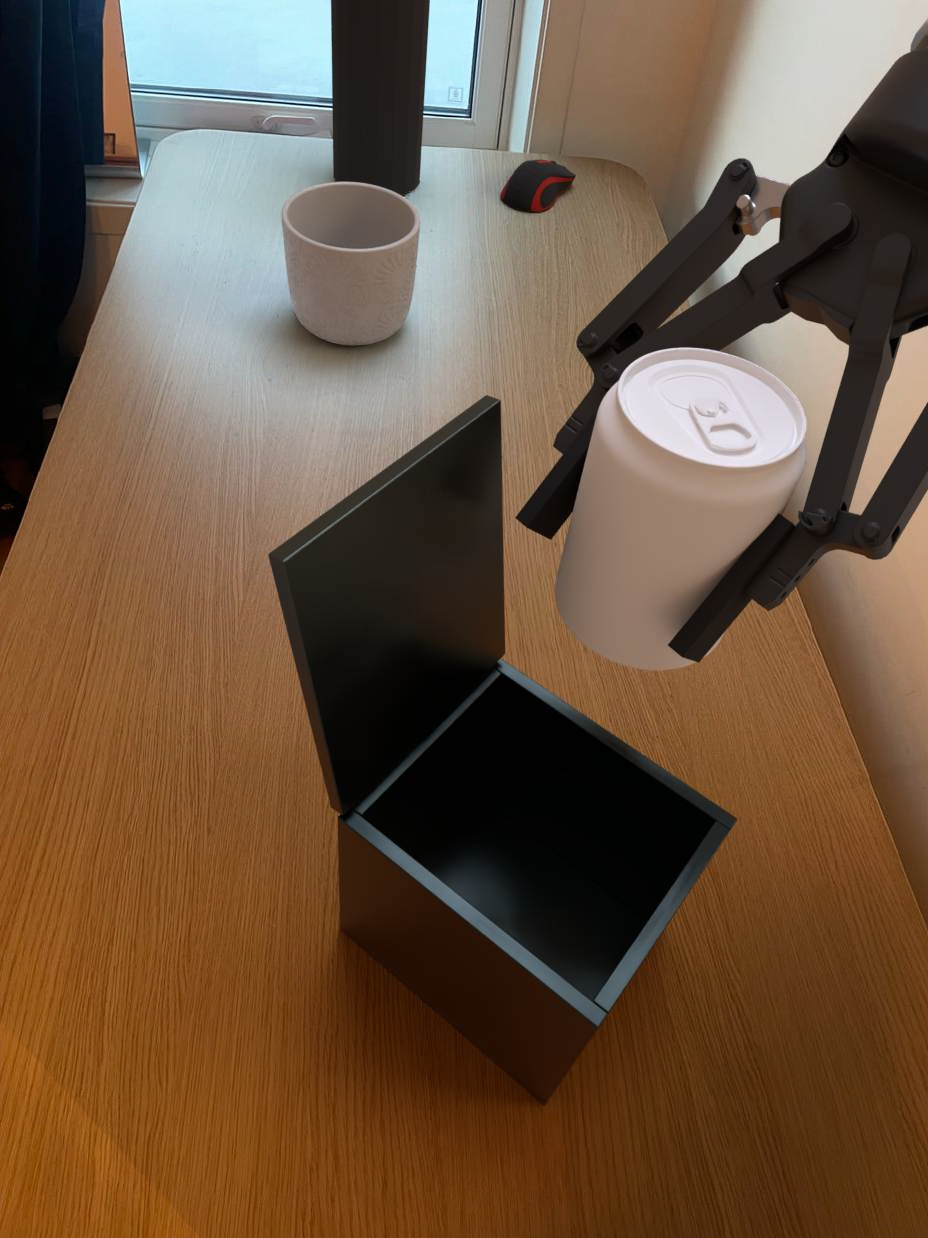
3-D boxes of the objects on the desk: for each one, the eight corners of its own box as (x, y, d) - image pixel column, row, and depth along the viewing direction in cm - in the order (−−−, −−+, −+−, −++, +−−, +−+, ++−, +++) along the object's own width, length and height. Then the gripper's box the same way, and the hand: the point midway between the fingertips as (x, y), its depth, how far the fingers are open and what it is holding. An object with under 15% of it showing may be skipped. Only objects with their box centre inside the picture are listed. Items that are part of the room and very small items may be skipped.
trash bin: (664, 926, 56) (738, 818, 45) (544, 1106, 49) (598, 1029, 38) (472, 783, 61) (498, 656, 50) (339, 929, 54) (336, 817, 43)
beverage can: (676, 536, 48) (754, 330, 38) (753, 660, 43) (862, 459, 34) (527, 562, 45) (572, 350, 36) (590, 695, 41) (660, 491, 32)
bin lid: (501, 399, 39) (486, 393, 39) (282, 562, 32) (266, 553, 32) (506, 654, 50) (493, 647, 50) (342, 816, 43) (330, 808, 43)
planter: (278, 290, 94) (271, 183, 86) (397, 282, 97) (402, 177, 89) (299, 364, 87) (293, 255, 79) (428, 352, 90) (436, 246, 82)
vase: (339, 199, 107) (336, -127, 84) (327, 157, 113) (321, -158, 90) (427, 197, 109) (448, -122, 86) (410, 156, 115) (425, -151, 92)
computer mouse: (579, 184, 115) (586, 150, 112) (538, 217, 109) (543, 183, 106) (535, 167, 117) (540, 134, 114) (491, 199, 110) (495, 165, 107)
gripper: (1243, 281, 34) (819, 755, 38) (777, 70, 43) (480, 475, 47) (1313, 169, 27) (790, 757, 32) (744, -53, 36) (402, 431, 41)
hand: (605, 588), depth 40 cm, fingers closed on beverage can, 8 cm apart
